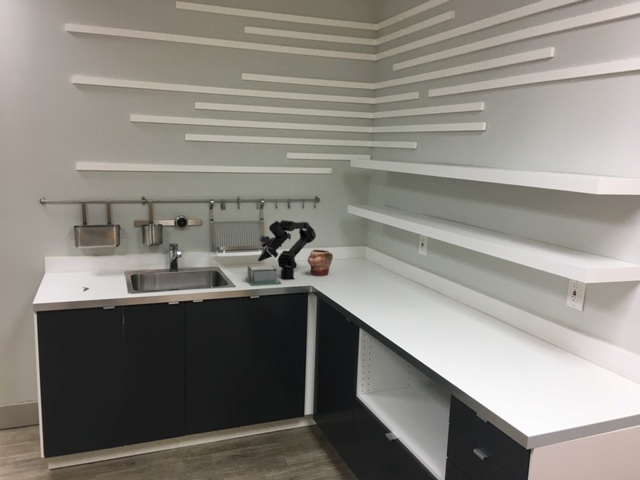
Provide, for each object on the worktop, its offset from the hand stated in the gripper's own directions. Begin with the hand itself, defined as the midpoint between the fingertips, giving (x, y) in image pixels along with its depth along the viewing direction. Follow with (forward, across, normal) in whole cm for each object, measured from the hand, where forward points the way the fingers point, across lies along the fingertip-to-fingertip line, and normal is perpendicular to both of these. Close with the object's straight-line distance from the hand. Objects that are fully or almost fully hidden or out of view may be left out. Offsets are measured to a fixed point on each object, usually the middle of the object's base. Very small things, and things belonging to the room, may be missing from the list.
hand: (258, 260), depth 279 cm
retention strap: (+2, 0, +5) cm, 5 cm away
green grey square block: (+6, 0, +10) cm, 12 cm away
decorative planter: (-20, -11, +36) cm, 42 cm away
